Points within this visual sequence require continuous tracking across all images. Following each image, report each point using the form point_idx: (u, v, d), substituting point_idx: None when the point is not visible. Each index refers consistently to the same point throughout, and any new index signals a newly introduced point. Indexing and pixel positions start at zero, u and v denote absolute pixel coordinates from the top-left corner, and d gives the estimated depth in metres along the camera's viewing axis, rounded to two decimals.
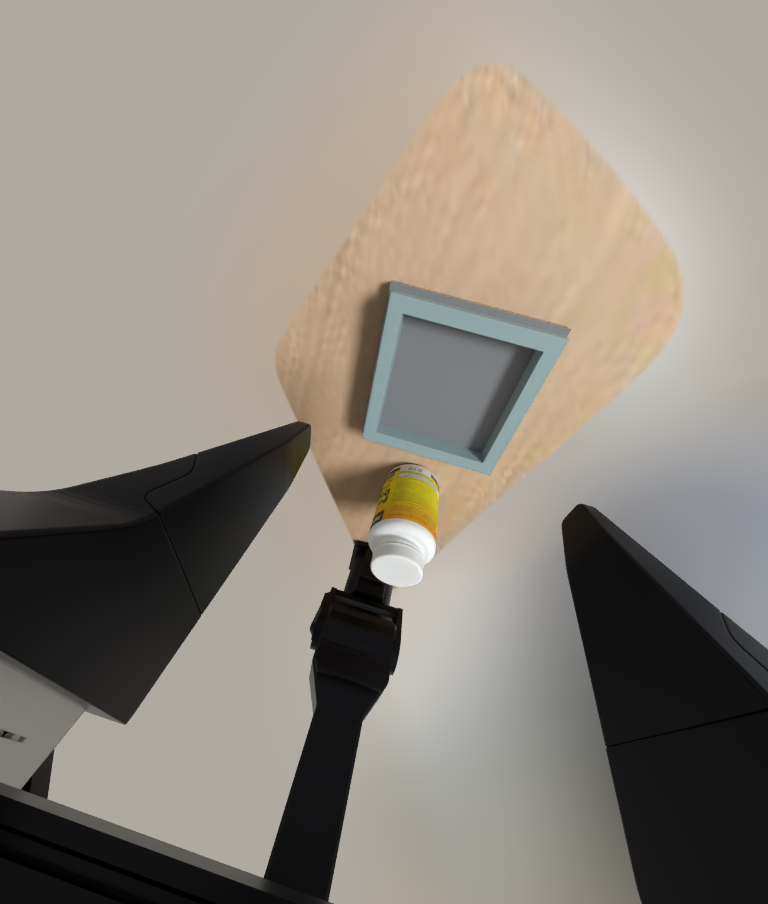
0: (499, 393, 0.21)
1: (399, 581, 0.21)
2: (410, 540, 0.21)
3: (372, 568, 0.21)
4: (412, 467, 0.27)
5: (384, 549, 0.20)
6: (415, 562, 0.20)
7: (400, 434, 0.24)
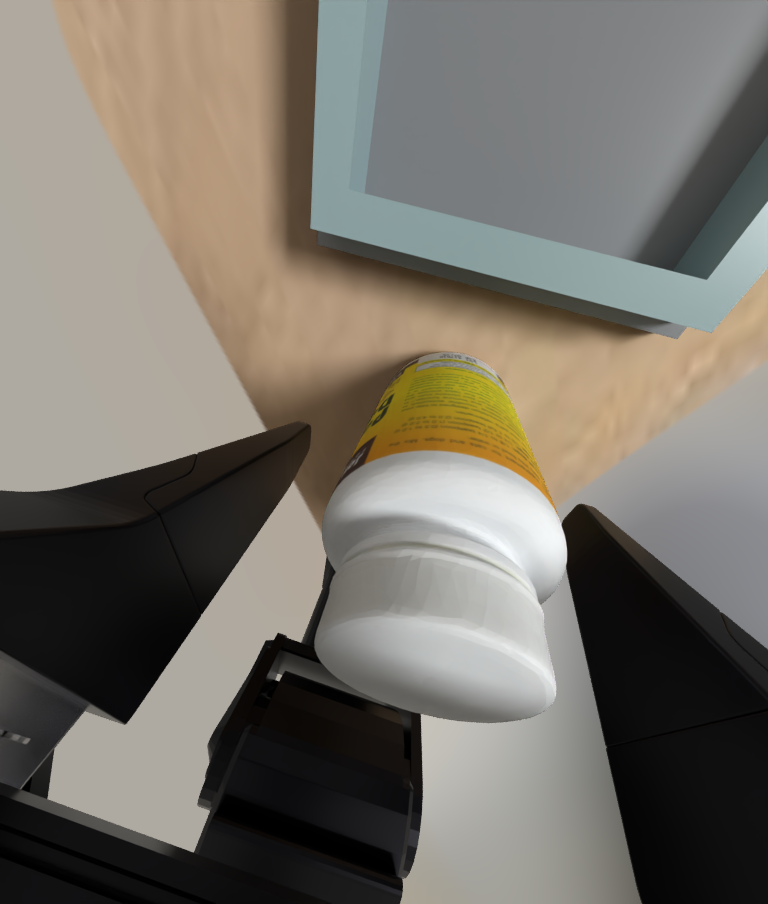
0: None
1: (435, 706, 0.05)
2: (484, 540, 0.05)
3: (322, 657, 0.05)
4: (450, 354, 0.10)
5: (371, 581, 0.04)
6: (535, 653, 0.04)
7: None
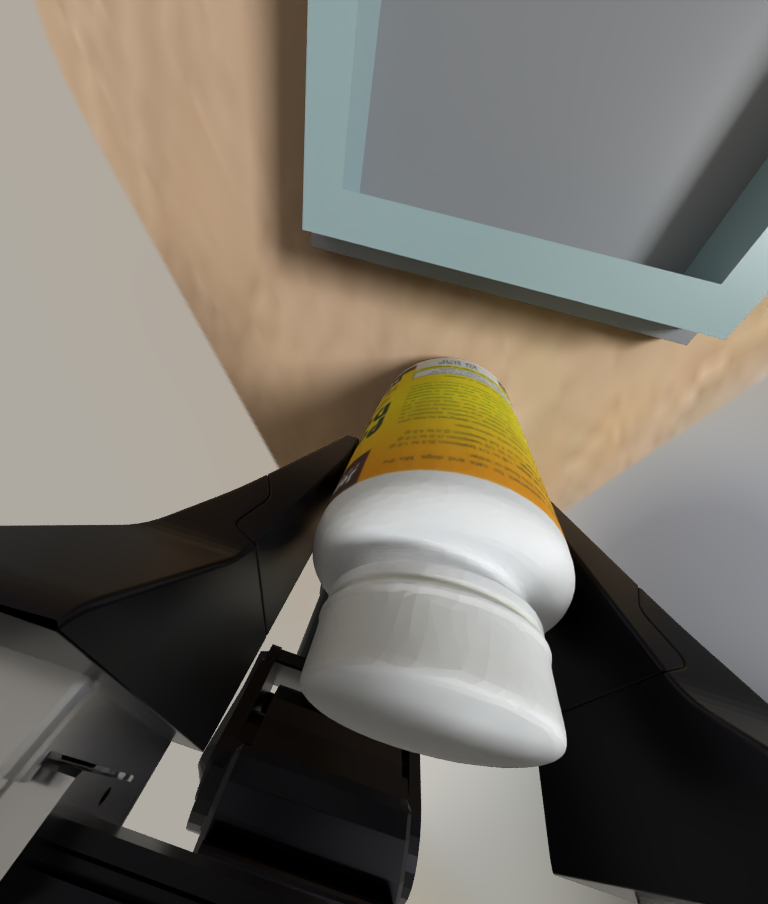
0: None
1: (433, 749, 0.05)
2: (485, 569, 0.05)
3: (309, 697, 0.05)
4: (449, 360, 0.10)
5: (361, 620, 0.04)
6: (544, 707, 0.03)
7: None
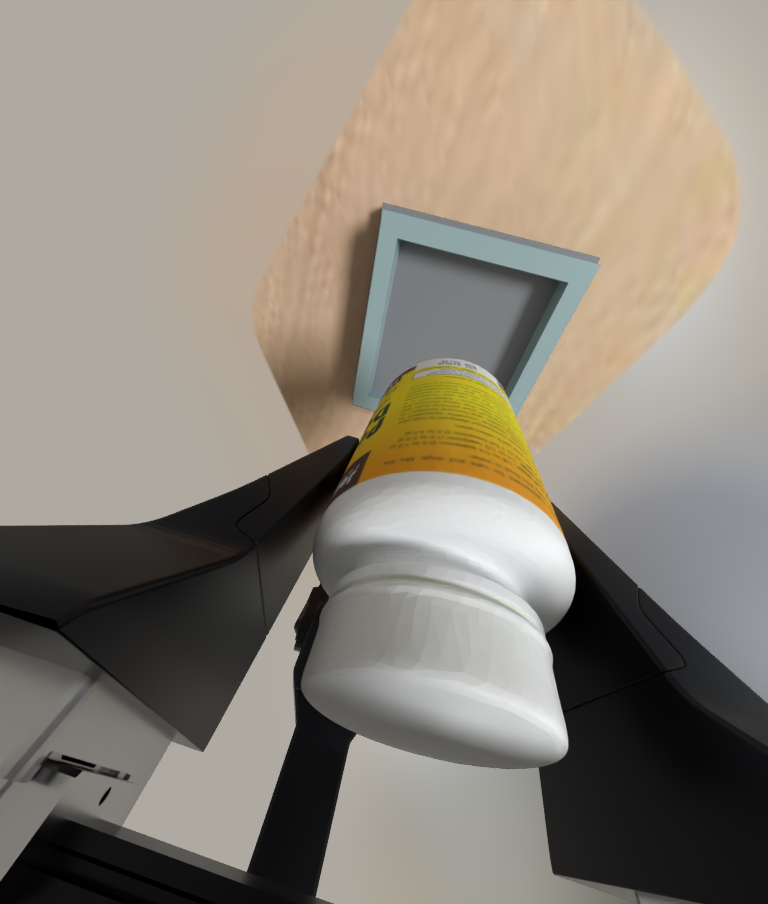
0: (511, 345, 0.18)
1: (434, 750, 0.05)
2: (486, 570, 0.05)
3: (310, 699, 0.05)
4: (449, 361, 0.10)
5: (363, 622, 0.04)
6: (545, 708, 0.03)
7: None
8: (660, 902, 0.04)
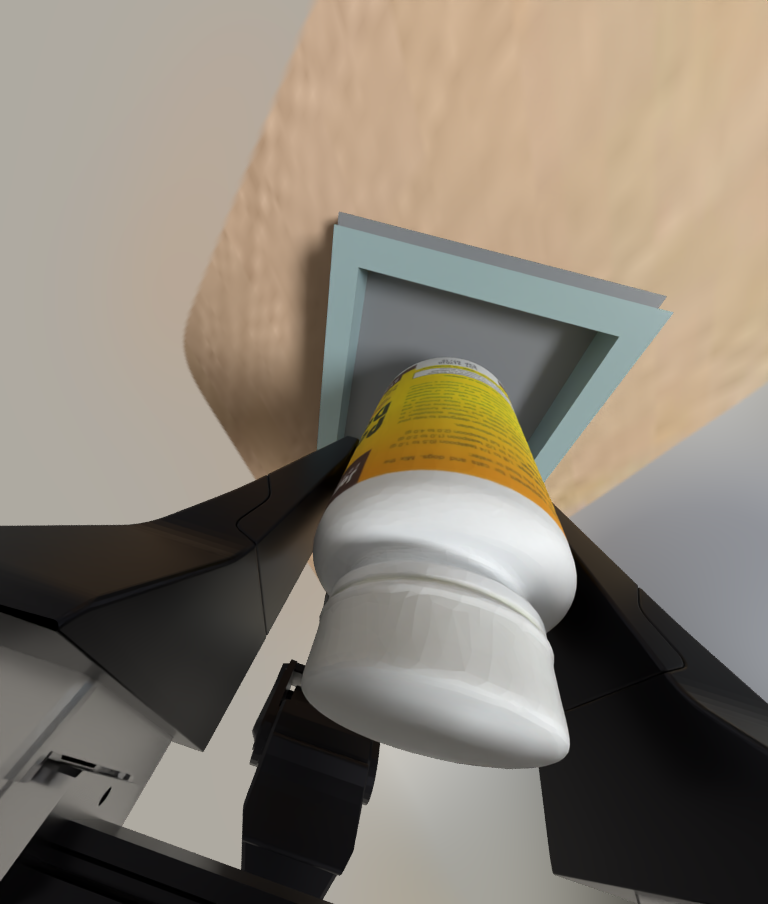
0: (526, 408, 0.13)
1: (435, 750, 0.05)
2: (487, 570, 0.05)
3: (310, 699, 0.04)
4: (449, 360, 0.10)
5: (363, 621, 0.04)
6: (547, 709, 0.03)
7: None
8: (660, 902, 0.04)
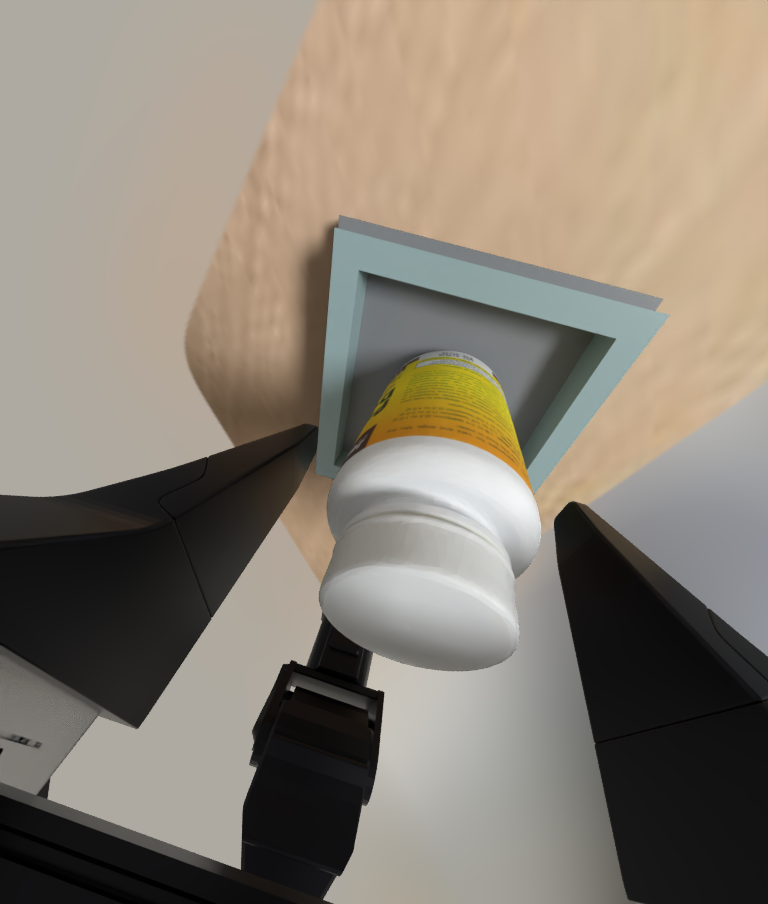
0: (525, 409, 0.13)
1: (421, 656, 0.06)
2: (466, 513, 0.06)
3: (325, 608, 0.06)
4: (448, 353, 0.11)
5: (368, 541, 0.05)
6: (500, 598, 0.05)
7: None
8: None
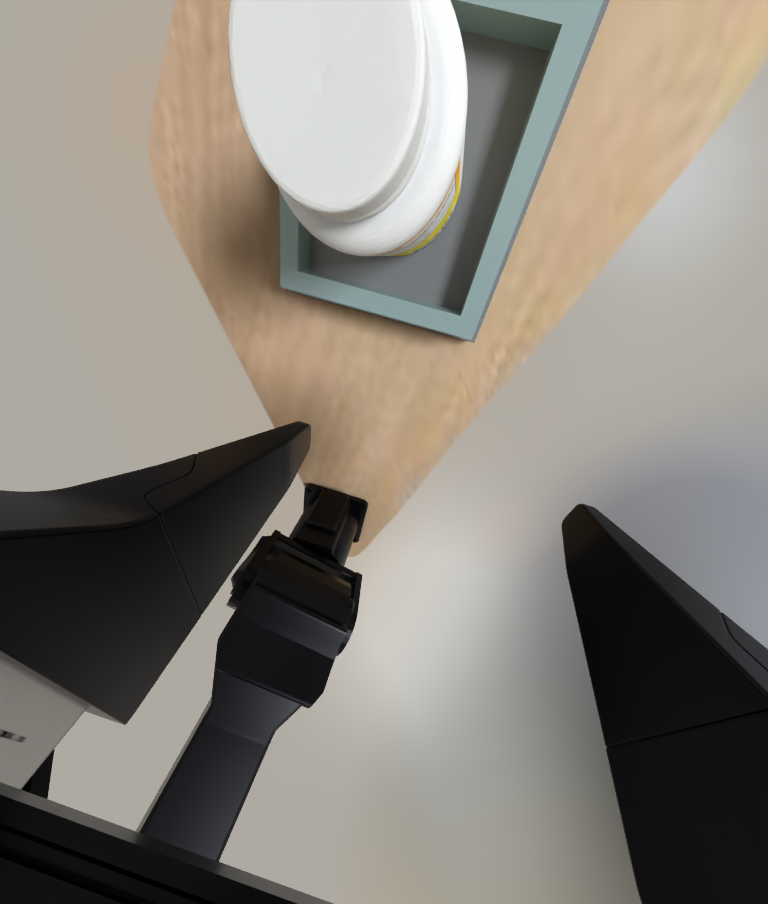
0: (484, 180, 0.13)
1: (341, 162, 0.06)
2: None
3: (238, 90, 0.06)
4: None
5: None
6: None
7: (337, 279, 0.16)
8: None
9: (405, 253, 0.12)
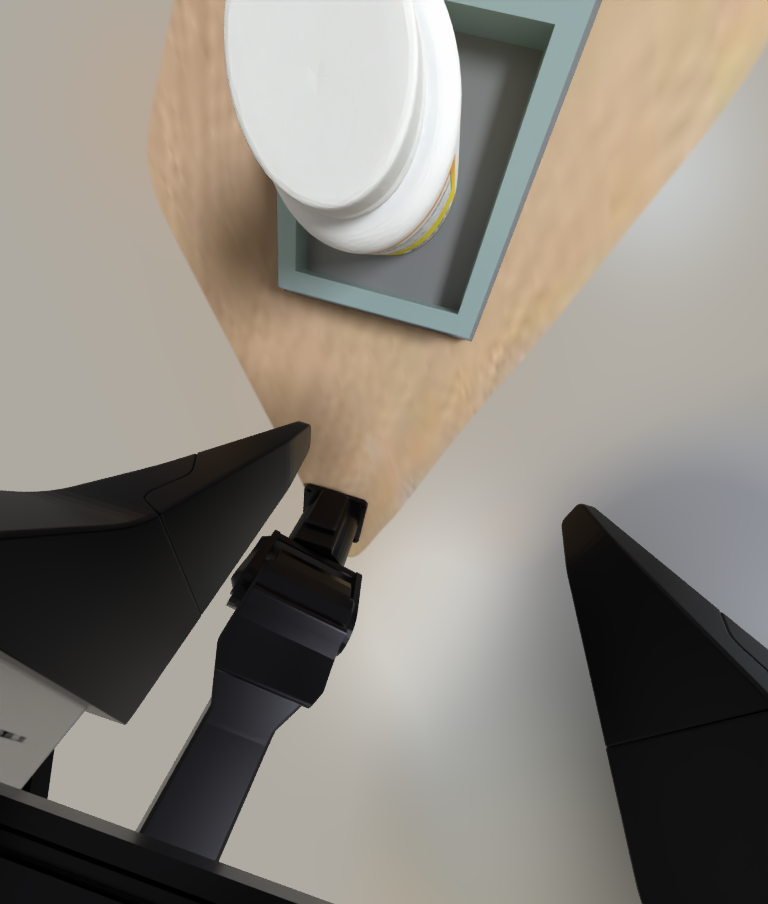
0: (480, 179, 0.13)
1: (336, 158, 0.06)
2: None
3: (234, 88, 0.06)
4: None
5: None
6: None
7: (335, 279, 0.16)
8: None
9: (402, 252, 0.12)
